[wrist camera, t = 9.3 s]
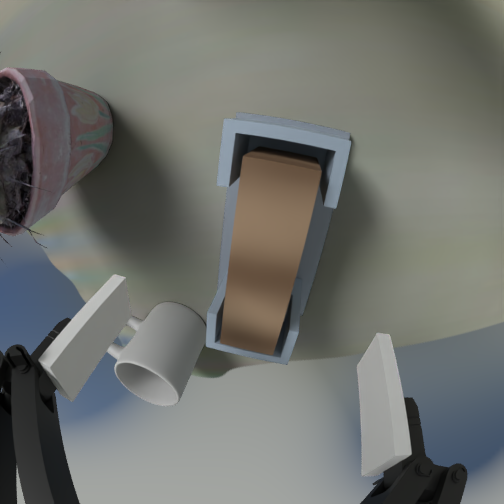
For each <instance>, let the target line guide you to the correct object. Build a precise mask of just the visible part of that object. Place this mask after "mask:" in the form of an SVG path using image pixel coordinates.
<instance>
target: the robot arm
mask: <svg viewBox="0 0 504 504" xmlns="http://www.w3.org/2000/svg"><path fill="white" fill-rule="evenodd" d="M131 316H132V312H131V306H130V301H129V295H128V289H127V283H126V277H122V276H119V275H116V274H114V275H113V276H112V277H111V278H110V279H109V280H108V281H107V282H106V283H105V284H104V285H103V286H102V287H101V288H100V289H99V291H98V292H97V293H96V294H95V295H94V296H93V297H92V298H91V299H90V300H89V301H88V302H87V303H86V304H85V306H84V307H83V308H82V309H81V310H80V311H79V312H78V313H77V314H76V316H75V317H74V318H73V319H72V320H71V319H69V318H66V319H64V320H62V321H61V322H59V323H58V324H57V325H56V326H55V328H54V329H53V331H51V332H50V333H49V334H48V336H47V337H46V338H45V339H44V340H43V341H42V342H41V344H40V345H39V346H38V347H37V348H36V350H35V351H34V352H33V353H32V354H31V355H29V354H28V352H27V350H26V349H25V347H24V346H22V345H13V346H11V347H10V348H8V350H7V351H6V352H5V356H4V355H3V353H2V352H1V351H0V392H1V388H3V389H2V392H1V393H0V504H17V491H16V468H18V473H19V478H20V483H21V487H22V492H23V496H24V499H25V503H26V504H80V503H79V500H78V497H77V494H76V491H75V488H74V485H73V482H72V479H71V474H70V471H69V467H68V463H67V459H66V455H65V451H64V446H63V441H62V436H61V430H60V425H59V418H58V412H57V404H56V397H55V393H54V392H55V390H56V389H57V390H58V391H59V393H60V394H61V395H62V396H63V397H65V398H67V399H68V400H70V401H72V402H73V401H74V399H75V398H76V396H77V395H78V393H79V391H80V390H81V388H82V387H83V385H84V384H85V382H86V381H87V379H88V378H89V376H90V375H91V373H92V372H93V370H94V369H95V367H96V366H97V364H98V363H99V361H100V360H101V359H102V357H103V356H104V354H105V353H106V351H107V350H108V348H109V347H110V346H111V344H112V343H113V341H114V340H115V338H116V337H117V336H118V334H119V333H120V332H121V330H122V329H123V327H124V326H125V325H126V323H127V322H128V321H129V319H130V318H131ZM357 375H358V387H359V400H360V417H361V443H362V445H361V446H362V476H377V475H379V474H381V473H382V472H384V477H383V478H381V479H379V480H377V481H376V482H374V483H373V485H376V484H377V485H376V486H375V487H374V489H373V490H372V491H371V492H370V493H369V494H368V495H367V497H366V498H365V499H364V500H363V501H362V502H361V503H360V504H460V502H461V499H462V495H463V492H464V488H465V484H466V481H467V470H466V468H465V467H464V466H463V465H462V464H455V465H452V466H451V467H449V468H448V467H443V466H438V465H435V464H433V462H432V461H431V459H430V458H428V457H426V454H425V449H424V442H423V435H422V429H421V426H420V424H421V422H420V418H419V411H418V407H417V405H416V403H415V401H414V400H413V398H404V396H403V391H402V386H401V381H400V376H399V371H398V367H397V362H396V358H395V354H394V349H393V345H392V341H391V337H390V334H383V333H376V335H375V337H374V339H373V340H372V342H371V344H370V345H369V347H368V349H367V350H366V352H365V354H364V355H363V357H362V359H361V360H360V362H359V364H358V365H357ZM16 466H17V467H16Z"/></svg>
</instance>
